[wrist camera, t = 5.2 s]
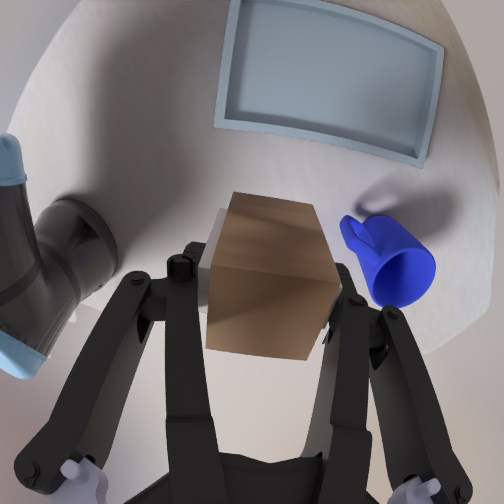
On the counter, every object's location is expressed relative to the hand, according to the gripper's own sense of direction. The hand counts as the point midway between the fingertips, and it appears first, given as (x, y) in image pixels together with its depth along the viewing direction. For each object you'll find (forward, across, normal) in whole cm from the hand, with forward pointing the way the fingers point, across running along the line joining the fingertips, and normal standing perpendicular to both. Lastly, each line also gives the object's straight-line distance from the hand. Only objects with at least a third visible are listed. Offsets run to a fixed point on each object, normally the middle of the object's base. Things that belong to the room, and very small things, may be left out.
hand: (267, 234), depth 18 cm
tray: (+15, +6, +13) cm, 21 cm away
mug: (+16, +14, -5) cm, 21 cm away
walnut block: (0, 0, 0) cm, 0 cm away
